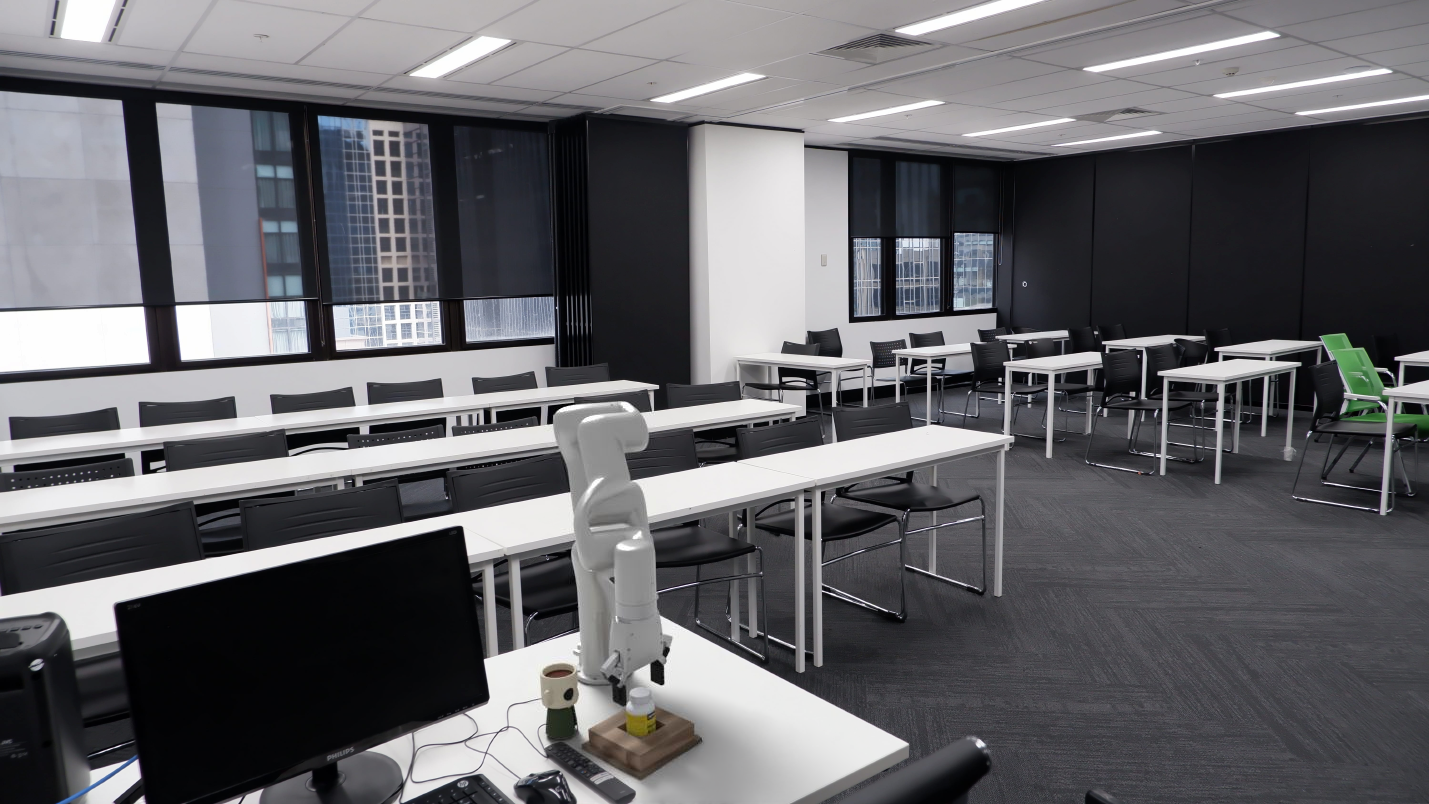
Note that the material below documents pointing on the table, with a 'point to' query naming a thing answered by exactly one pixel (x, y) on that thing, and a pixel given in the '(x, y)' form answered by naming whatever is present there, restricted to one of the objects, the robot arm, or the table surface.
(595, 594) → the robot arm
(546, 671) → the character mug
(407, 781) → the table surface
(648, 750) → the bottle holder
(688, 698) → the table surface
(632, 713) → the supplement bottle
